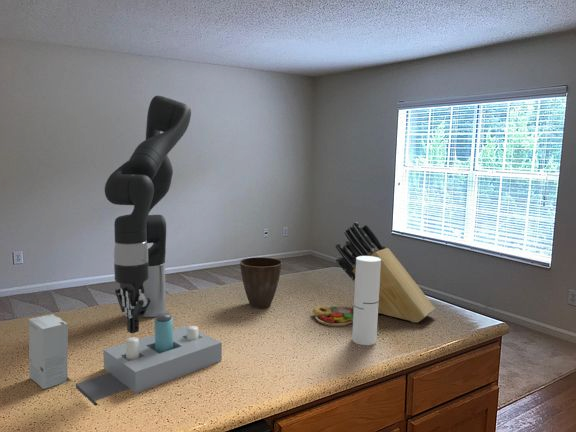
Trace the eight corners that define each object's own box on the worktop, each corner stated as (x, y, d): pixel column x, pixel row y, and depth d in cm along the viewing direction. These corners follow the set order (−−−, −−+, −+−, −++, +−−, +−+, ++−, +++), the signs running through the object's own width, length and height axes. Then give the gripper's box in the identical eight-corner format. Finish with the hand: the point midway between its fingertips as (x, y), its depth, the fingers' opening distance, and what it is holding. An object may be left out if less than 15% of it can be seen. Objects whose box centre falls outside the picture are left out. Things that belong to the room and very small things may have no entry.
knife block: (345, 296, 182) (349, 217, 178) (435, 317, 162) (442, 228, 158) (330, 303, 173) (334, 220, 169) (423, 326, 153) (430, 233, 148)
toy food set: (310, 314, 162) (310, 305, 162) (346, 312, 165) (347, 303, 164) (320, 328, 149) (321, 319, 149) (360, 326, 152) (360, 317, 151)
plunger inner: (184, 353, 125) (184, 327, 124) (194, 349, 127) (193, 325, 126) (191, 356, 123) (190, 331, 122) (200, 353, 125) (200, 328, 124)
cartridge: (151, 364, 119) (151, 315, 117) (167, 359, 122) (166, 311, 120) (161, 370, 116) (160, 319, 114) (176, 364, 119) (176, 315, 117)
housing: (104, 372, 116) (103, 349, 115) (186, 345, 133) (186, 325, 132) (135, 397, 105) (135, 372, 104) (221, 364, 122) (221, 342, 121)
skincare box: (28, 378, 112) (25, 318, 110) (54, 370, 117) (52, 312, 115) (44, 390, 107) (41, 328, 105) (70, 381, 111) (68, 321, 109)
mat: (76, 387, 108) (75, 383, 108) (117, 374, 115) (117, 370, 115) (94, 405, 101) (94, 400, 101) (137, 389, 109) (137, 385, 108)
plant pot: (230, 303, 170) (231, 260, 167) (262, 296, 180) (263, 255, 177) (256, 315, 159) (257, 269, 156) (289, 306, 169) (290, 262, 166)
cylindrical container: (376, 346, 136) (380, 262, 133) (351, 343, 137) (355, 260, 134) (376, 337, 143) (381, 256, 139) (352, 334, 144) (356, 255, 141)
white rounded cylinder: (123, 367, 113) (123, 339, 112) (135, 363, 115) (135, 336, 114) (129, 371, 111) (129, 343, 110) (141, 367, 113) (141, 340, 112)
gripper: (160, 263, 107) (161, 335, 109) (132, 253, 116) (134, 320, 119) (130, 268, 102) (131, 344, 104) (102, 257, 111) (105, 328, 113)
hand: (133, 331), depth 111 cm, fingers closed
